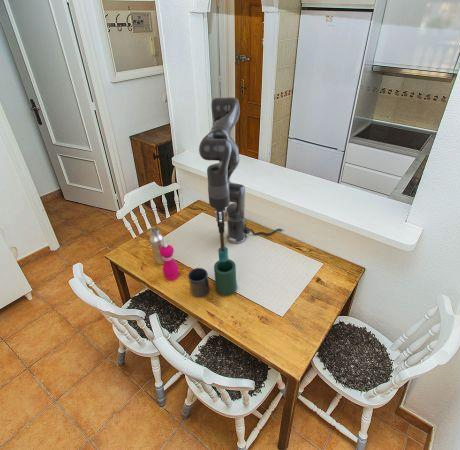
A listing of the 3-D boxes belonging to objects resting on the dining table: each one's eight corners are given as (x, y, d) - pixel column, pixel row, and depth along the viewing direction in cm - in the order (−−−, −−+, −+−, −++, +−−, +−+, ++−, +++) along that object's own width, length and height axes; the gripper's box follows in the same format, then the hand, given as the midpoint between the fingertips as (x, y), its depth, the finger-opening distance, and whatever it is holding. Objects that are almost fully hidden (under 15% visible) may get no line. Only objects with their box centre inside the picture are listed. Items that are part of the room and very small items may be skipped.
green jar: (228, 277, 150) (226, 255, 141) (240, 289, 144) (239, 266, 136) (212, 287, 145) (209, 265, 137) (224, 299, 139) (222, 277, 131)
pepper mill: (182, 272, 153) (176, 240, 141) (175, 283, 147) (168, 250, 135) (169, 269, 155) (162, 237, 143) (161, 279, 149) (153, 247, 137)
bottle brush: (224, 254, 135) (221, 210, 122) (230, 259, 133) (227, 215, 119) (217, 258, 133) (213, 214, 120) (222, 263, 131) (219, 219, 117)
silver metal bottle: (165, 267, 156) (158, 235, 144) (152, 265, 157) (144, 233, 145) (170, 258, 161) (164, 226, 149) (158, 256, 162) (150, 225, 150)
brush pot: (202, 280, 148) (200, 265, 142) (213, 291, 143) (211, 275, 137) (187, 289, 144) (184, 274, 138) (197, 300, 139) (194, 285, 133)
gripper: (230, 202, 108) (232, 241, 119) (228, 182, 119) (230, 219, 130) (208, 203, 108) (212, 242, 118) (208, 183, 119) (211, 220, 129)
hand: (221, 230), depth 124 cm, fingers closed on bottle brush, 1 cm apart
